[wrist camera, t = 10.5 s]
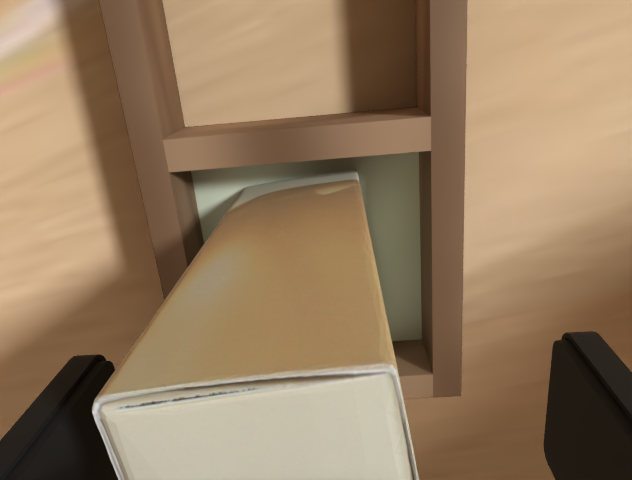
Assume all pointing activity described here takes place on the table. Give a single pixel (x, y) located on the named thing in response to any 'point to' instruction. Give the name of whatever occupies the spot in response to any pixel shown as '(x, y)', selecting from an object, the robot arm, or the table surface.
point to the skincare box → (267, 352)
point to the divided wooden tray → (314, 159)
